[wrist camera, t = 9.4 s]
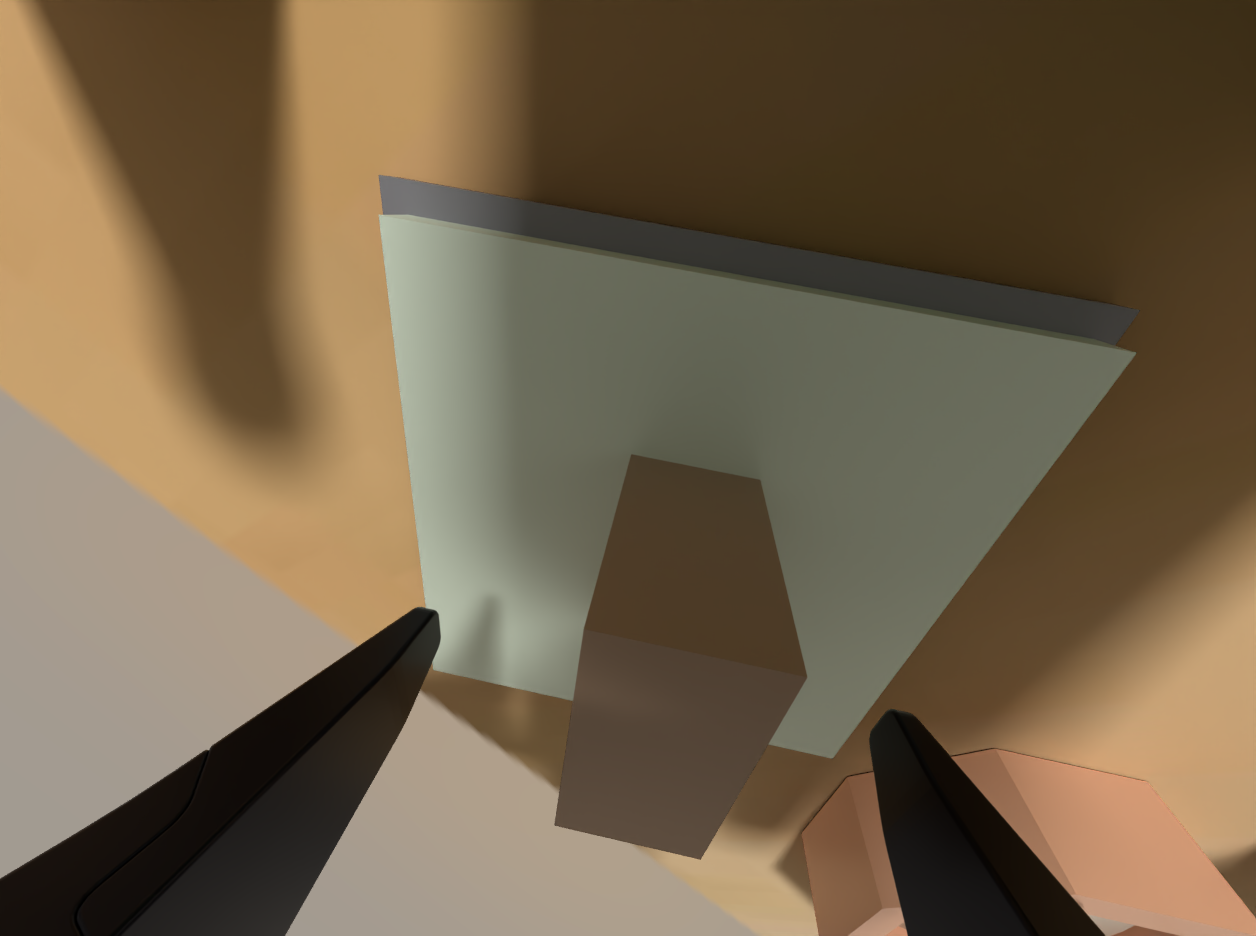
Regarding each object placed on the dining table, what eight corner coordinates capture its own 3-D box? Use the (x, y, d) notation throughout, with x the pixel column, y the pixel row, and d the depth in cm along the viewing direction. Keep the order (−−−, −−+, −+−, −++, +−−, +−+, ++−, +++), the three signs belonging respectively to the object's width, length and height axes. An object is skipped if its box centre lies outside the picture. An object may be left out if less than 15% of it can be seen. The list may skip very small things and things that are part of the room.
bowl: (1258, 806, 16) (1416, 972, 12) (1032, 924, 22) (1093, 1053, 19) (889, 725, 16) (941, 863, 13) (775, 864, 23) (789, 980, 19)
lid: (1094, 339, 9) (1668, 521, 4) (825, 729, 16) (887, 978, 11) (408, 214, 9) (44, 216, 4) (447, 645, 16) (332, 844, 11)
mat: (1114, 304, 9) (1140, 310, 8) (829, 721, 17) (833, 737, 16) (396, 177, 9) (378, 175, 9) (441, 636, 17) (433, 649, 17)
